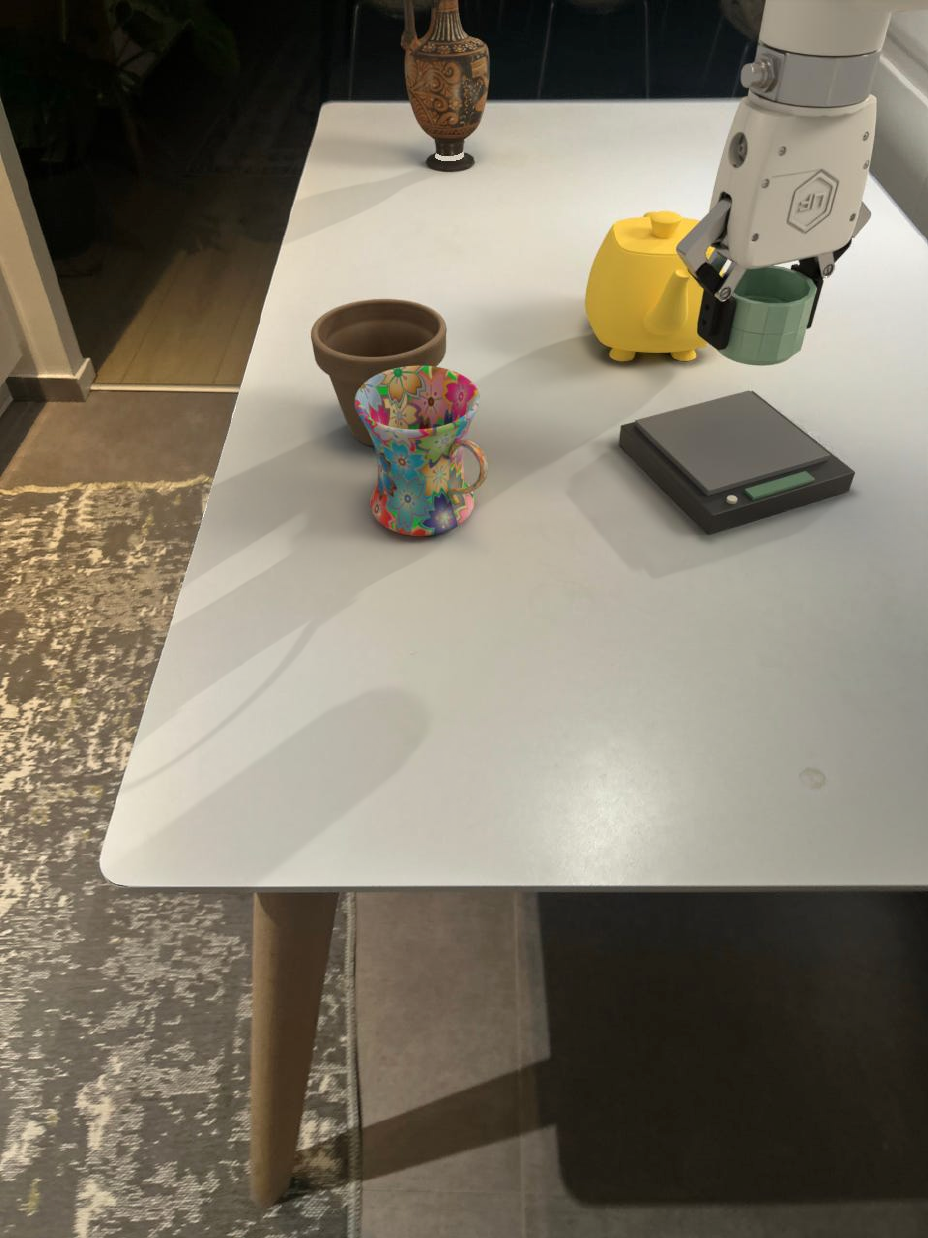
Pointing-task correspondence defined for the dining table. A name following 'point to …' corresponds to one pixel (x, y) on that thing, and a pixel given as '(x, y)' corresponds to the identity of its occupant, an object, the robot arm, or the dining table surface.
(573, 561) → the dining table surface
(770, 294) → the bowl
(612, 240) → the teapot
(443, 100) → the vase
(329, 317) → the flower pot
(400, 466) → the mug
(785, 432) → the scale
